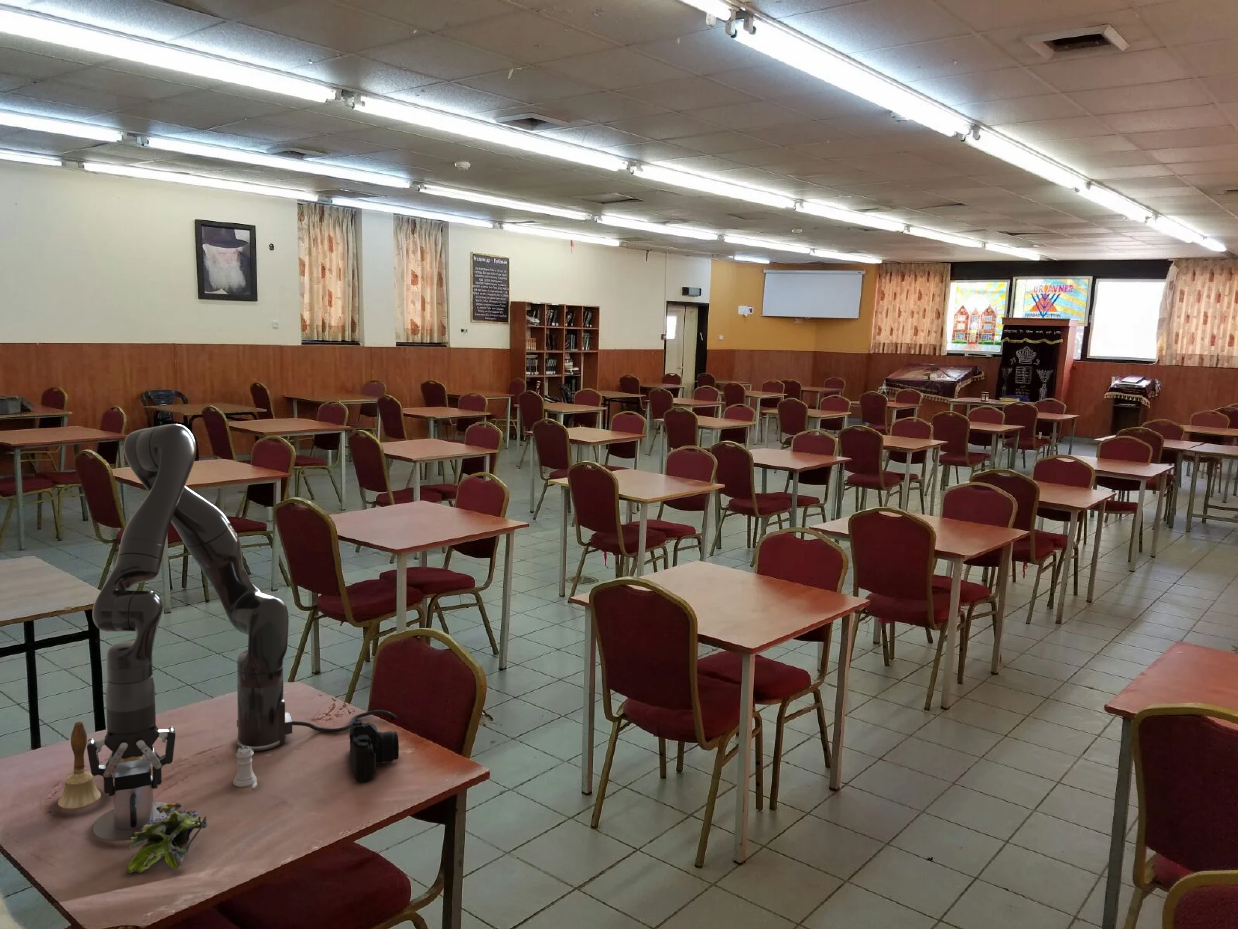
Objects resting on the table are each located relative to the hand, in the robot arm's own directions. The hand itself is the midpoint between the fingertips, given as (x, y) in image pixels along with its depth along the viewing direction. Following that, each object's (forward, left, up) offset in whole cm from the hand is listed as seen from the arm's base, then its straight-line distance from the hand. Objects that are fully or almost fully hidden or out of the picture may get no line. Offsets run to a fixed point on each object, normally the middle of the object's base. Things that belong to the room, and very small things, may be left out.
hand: (133, 790), depth 157 cm
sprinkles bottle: (+1, -26, -7) cm, 27 cm away
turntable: (0, 0, -7) cm, 7 cm away
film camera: (-44, -7, -7) cm, 45 cm away
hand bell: (+9, -12, -7) cm, 17 cm away
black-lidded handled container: (0, +1, -6) cm, 6 cm away
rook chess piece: (-19, -7, -7) cm, 21 cm away
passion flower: (-5, +14, -7) cm, 17 cm away
